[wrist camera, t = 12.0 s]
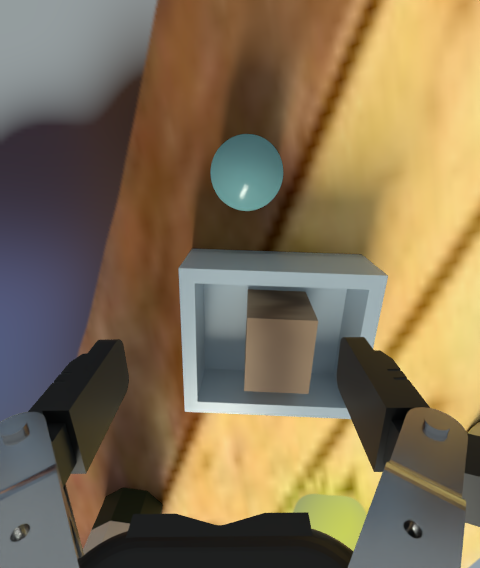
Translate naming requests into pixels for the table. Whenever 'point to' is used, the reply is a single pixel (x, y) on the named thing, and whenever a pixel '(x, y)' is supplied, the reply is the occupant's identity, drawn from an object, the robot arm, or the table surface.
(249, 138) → the teal glossy cylinder
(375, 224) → the table surface
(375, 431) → the robot arm
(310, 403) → the blue-grey tote
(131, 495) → the wine bottle
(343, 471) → the table surface
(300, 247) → the table surface
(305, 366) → the walnut block
